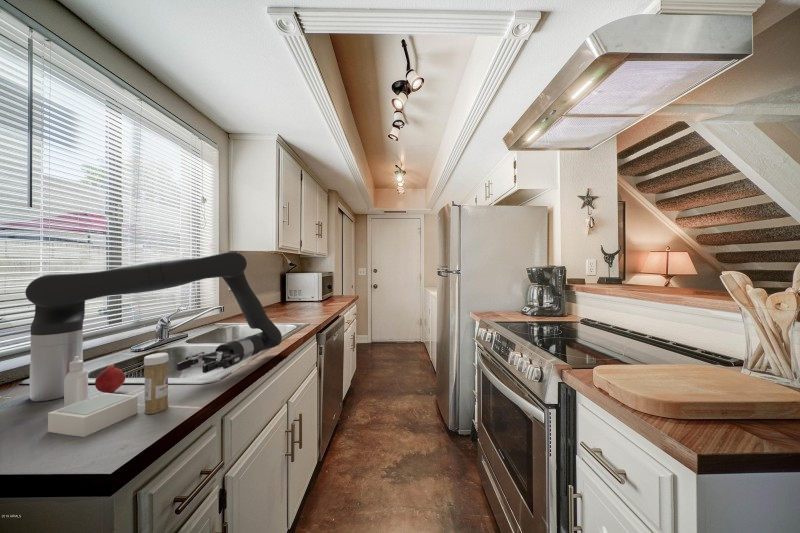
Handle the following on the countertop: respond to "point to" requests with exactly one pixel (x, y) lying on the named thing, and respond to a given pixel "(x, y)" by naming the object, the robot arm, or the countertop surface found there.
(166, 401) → the sprinkles bottle
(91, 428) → the block
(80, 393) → the eye dropper bottle
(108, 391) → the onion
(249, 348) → the robot arm
